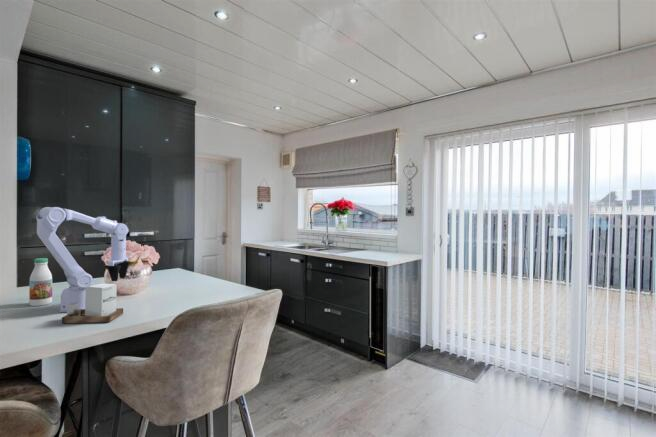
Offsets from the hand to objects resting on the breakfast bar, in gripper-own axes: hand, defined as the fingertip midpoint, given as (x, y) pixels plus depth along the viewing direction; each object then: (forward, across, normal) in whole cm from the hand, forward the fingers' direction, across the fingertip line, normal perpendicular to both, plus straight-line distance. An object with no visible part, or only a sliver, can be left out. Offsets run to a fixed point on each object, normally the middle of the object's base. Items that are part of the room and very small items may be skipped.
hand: (118, 279), depth 154 cm
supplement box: (+10, -25, -5) cm, 27 cm away
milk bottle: (+10, -1, +31) cm, 33 cm away
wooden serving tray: (+10, -25, -2) cm, 27 cm away
